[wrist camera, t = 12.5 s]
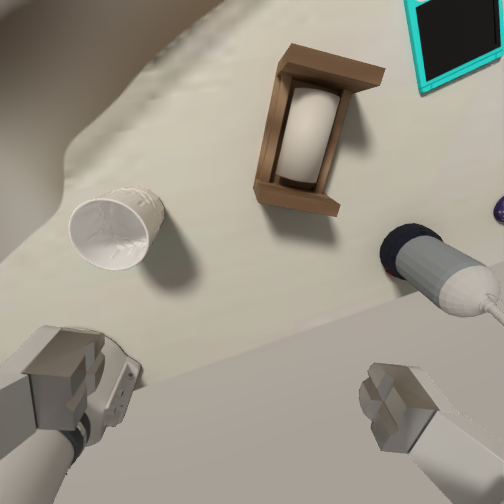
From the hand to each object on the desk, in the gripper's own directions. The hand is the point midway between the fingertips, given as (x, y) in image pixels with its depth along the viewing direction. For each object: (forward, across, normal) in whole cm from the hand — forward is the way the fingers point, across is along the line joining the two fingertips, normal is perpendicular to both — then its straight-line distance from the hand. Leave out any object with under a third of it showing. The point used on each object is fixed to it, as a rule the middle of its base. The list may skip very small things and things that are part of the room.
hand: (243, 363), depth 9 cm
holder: (+31, +7, +7) cm, 33 cm away
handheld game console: (+32, +20, +24) cm, 44 cm away
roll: (+30, +6, +7) cm, 32 cm away
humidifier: (+31, +27, -5) cm, 42 cm away
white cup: (+31, -12, -6) cm, 34 cm away
